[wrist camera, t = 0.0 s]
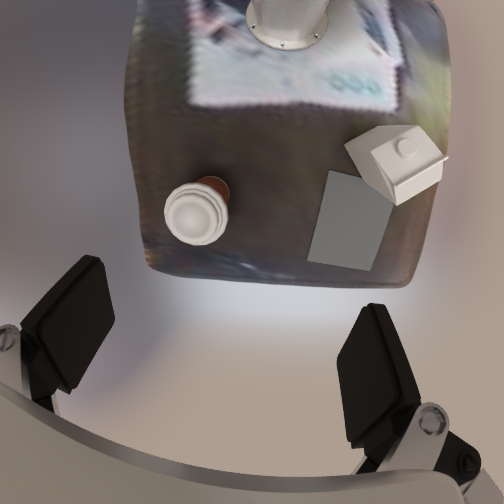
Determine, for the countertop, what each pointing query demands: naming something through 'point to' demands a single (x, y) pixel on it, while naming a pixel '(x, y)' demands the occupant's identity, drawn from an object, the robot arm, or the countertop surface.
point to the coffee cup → (198, 210)
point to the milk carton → (397, 160)
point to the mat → (349, 223)
